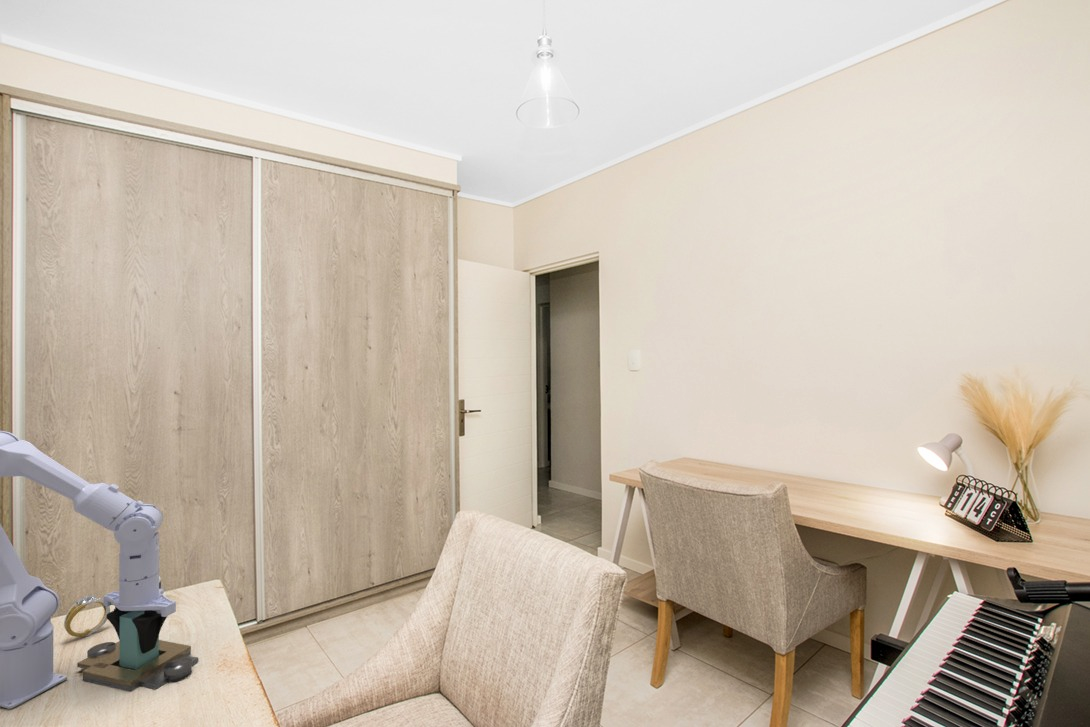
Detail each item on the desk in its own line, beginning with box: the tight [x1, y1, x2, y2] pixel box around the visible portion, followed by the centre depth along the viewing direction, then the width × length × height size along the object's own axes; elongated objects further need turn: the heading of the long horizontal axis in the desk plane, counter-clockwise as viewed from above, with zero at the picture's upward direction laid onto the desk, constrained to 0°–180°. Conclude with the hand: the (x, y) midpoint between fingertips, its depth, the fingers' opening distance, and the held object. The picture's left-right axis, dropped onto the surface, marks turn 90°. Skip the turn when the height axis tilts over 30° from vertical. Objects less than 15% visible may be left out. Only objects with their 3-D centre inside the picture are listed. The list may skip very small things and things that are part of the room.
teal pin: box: [119, 611, 160, 670], centre depth 92 cm, size 4×4×9 cm
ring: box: [63, 594, 111, 638], centre depth 102 cm, size 7×3×8 cm, turn 146°
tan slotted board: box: [76, 639, 192, 687], centre depth 93 cm, size 16×11×2 cm, turn 76°
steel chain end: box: [81, 649, 199, 692], centre depth 91 cm, size 16×11×2 cm, turn 76°
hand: (139, 648), depth 92 cm, fingers closed on teal pin, 4 cm apart
